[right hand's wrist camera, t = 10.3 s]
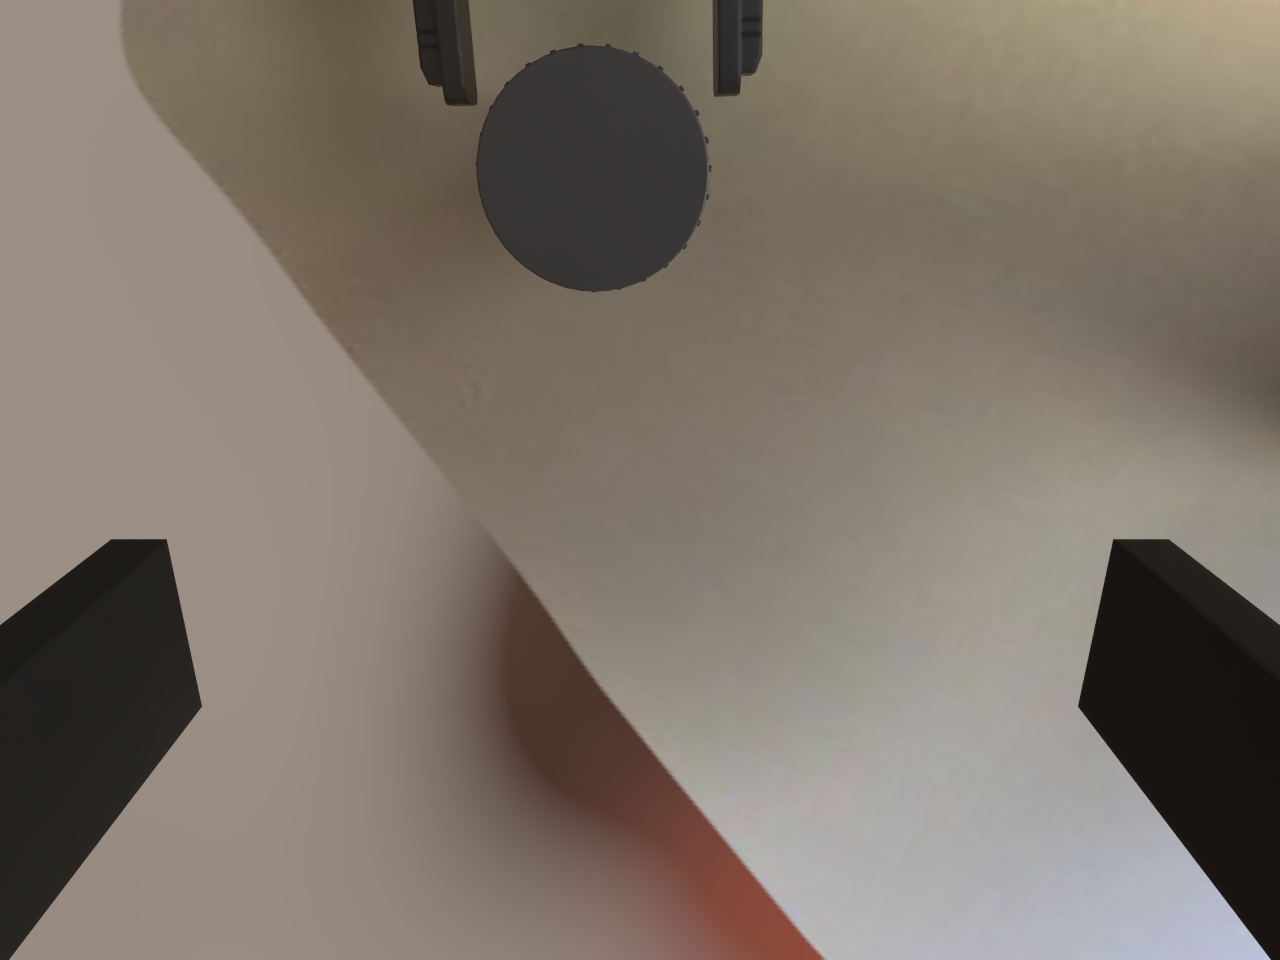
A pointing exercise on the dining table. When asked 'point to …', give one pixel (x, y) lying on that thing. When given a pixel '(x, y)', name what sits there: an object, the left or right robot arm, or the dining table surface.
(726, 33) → the left robot arm
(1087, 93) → the dining table surface
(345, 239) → the dining table surface
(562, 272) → the lid
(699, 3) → the dining table surface
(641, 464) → the dining table surface
